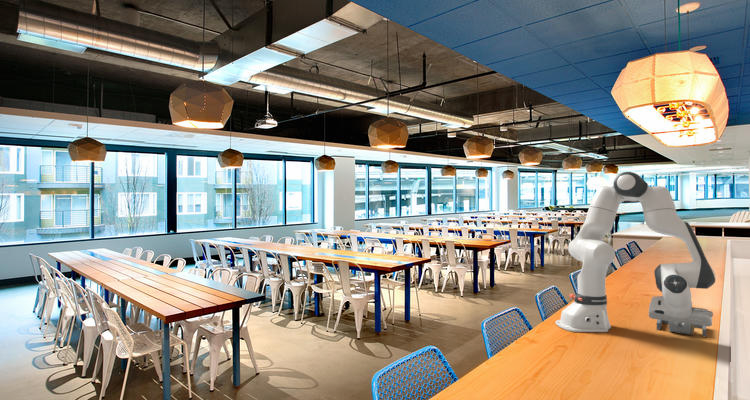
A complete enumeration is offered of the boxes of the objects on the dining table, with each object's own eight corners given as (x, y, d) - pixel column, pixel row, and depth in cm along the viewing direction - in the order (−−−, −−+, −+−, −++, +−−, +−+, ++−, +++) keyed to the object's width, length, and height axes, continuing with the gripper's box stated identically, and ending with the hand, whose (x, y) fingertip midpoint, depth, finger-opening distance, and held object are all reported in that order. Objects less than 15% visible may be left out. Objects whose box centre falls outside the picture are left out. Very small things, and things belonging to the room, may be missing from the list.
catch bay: (706, 337, 159) (706, 329, 159) (656, 329, 169) (656, 322, 169) (706, 328, 169) (706, 321, 169) (659, 321, 180) (659, 315, 180)
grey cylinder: (693, 337, 159) (693, 318, 159) (668, 333, 164) (667, 314, 165) (695, 331, 167) (695, 312, 167) (671, 327, 172) (671, 309, 172)
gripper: (712, 303, 149) (713, 322, 156) (647, 296, 162) (650, 314, 170) (713, 317, 146) (713, 337, 153) (646, 309, 159) (650, 327, 166)
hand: (680, 325), depth 161 cm, fingers closed
